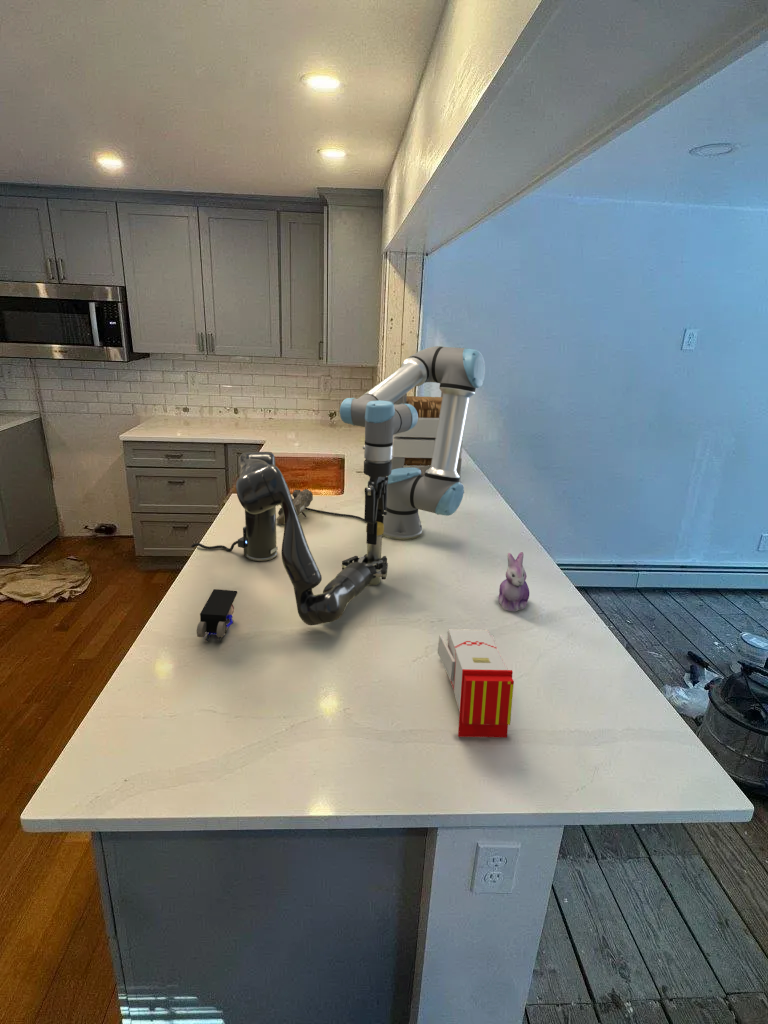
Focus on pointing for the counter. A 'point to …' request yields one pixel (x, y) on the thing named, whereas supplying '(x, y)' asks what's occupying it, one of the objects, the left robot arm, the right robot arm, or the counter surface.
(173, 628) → the counter surface
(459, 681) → the toy
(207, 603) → the black wheeled vehicle
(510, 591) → the figurine
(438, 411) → the white storage crate
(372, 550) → the jar
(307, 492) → the fossil
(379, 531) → the lid
